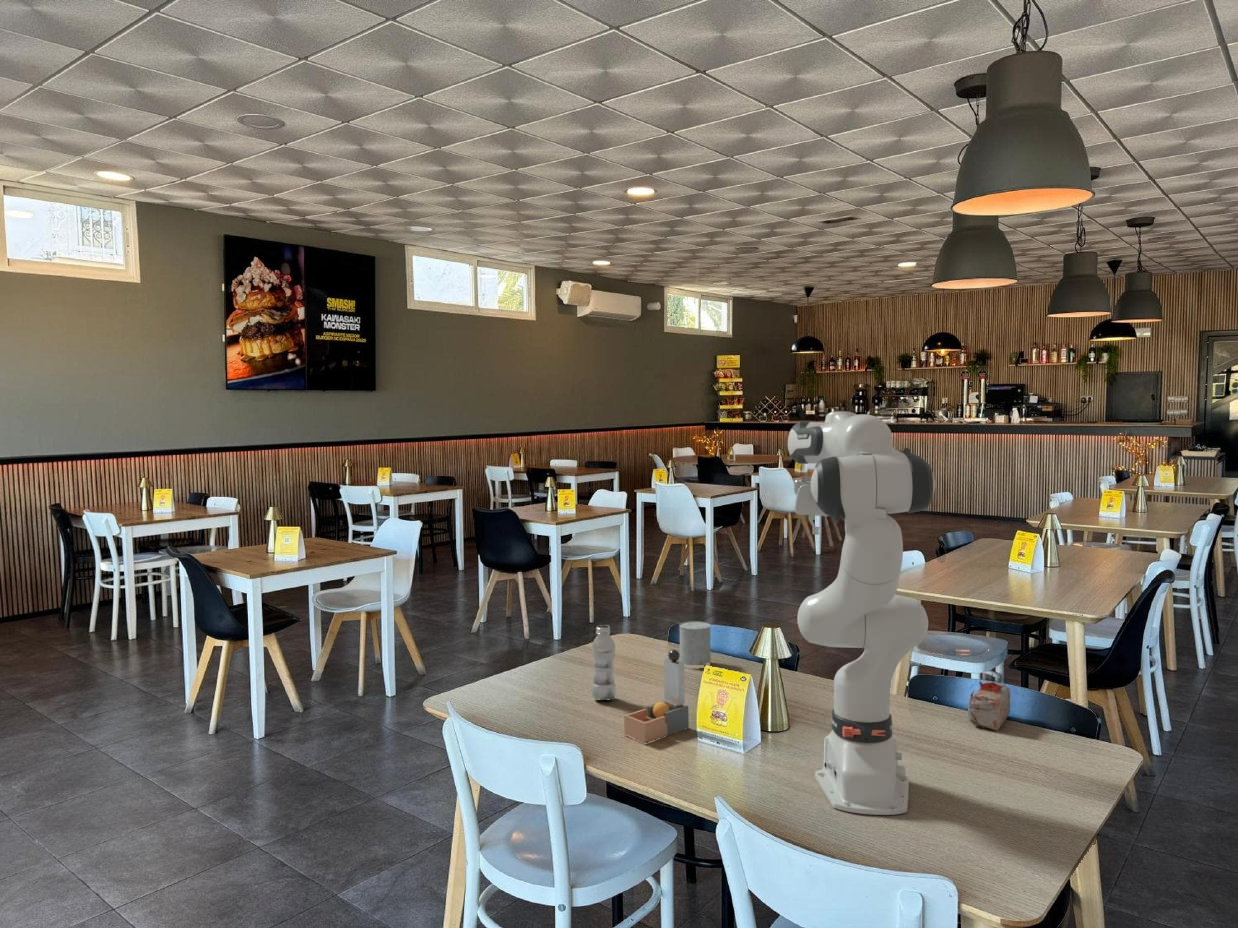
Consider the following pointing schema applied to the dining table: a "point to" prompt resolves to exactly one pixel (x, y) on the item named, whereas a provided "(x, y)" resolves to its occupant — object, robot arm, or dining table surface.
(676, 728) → the launcher
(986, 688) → the food item
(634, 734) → the cup
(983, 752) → the dining table surface
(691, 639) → the grey cylinder
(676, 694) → the grey upright post
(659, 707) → the ball
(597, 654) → the plastic bottle
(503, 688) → the dining table surface
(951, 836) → the dining table surface
